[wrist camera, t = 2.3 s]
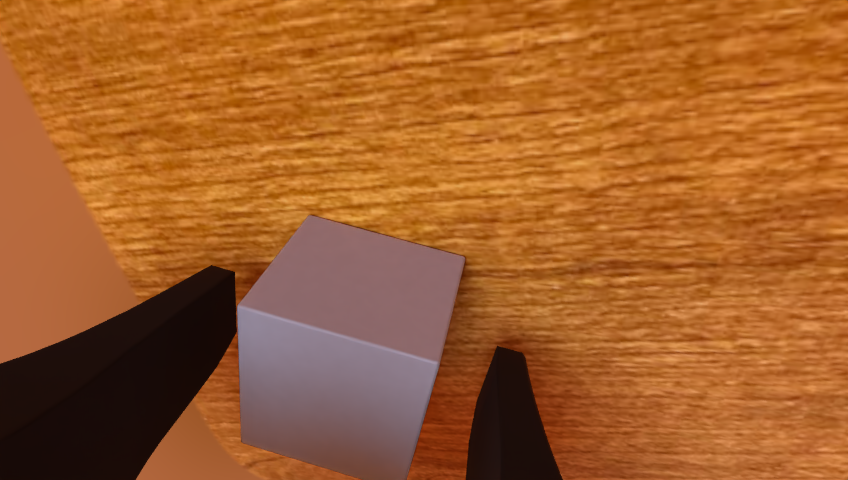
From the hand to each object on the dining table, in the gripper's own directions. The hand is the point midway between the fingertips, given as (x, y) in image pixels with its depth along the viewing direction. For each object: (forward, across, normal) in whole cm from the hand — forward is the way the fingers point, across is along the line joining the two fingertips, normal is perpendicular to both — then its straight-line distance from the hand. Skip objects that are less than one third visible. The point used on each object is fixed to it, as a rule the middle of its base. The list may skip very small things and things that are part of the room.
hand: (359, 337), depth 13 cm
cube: (+1, 0, 0) cm, 1 cm away
